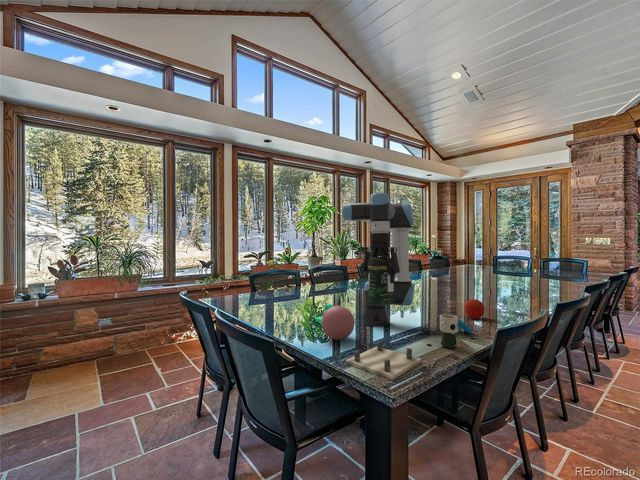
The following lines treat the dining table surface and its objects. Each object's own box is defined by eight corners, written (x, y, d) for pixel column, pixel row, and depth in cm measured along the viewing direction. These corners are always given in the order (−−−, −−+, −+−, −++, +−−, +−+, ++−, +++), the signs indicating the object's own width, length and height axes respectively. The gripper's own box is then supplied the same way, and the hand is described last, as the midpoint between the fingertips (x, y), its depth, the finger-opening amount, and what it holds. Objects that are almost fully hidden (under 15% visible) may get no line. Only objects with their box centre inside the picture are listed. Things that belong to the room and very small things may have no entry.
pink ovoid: (338, 329, 161) (338, 299, 160) (361, 341, 143) (360, 307, 143) (311, 334, 154) (311, 303, 153) (331, 347, 136) (331, 311, 136)
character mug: (449, 352, 127) (449, 320, 127) (434, 347, 133) (433, 316, 133) (463, 346, 134) (463, 315, 134) (448, 341, 140) (448, 312, 140)
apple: (488, 320, 173) (488, 299, 173) (469, 320, 173) (469, 300, 173) (479, 316, 183) (478, 296, 183) (461, 316, 183) (461, 296, 183)
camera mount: (314, 322, 176) (314, 304, 176) (325, 320, 181) (324, 302, 181) (327, 327, 167) (327, 307, 167) (338, 324, 171) (338, 305, 171)
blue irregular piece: (476, 332, 147) (461, 317, 148) (469, 342, 146) (453, 327, 147) (463, 329, 158) (449, 315, 158) (456, 338, 157) (442, 324, 157)
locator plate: (345, 363, 118) (345, 350, 118) (376, 349, 132) (376, 338, 132) (392, 379, 104) (392, 365, 104) (421, 362, 118) (420, 349, 118)
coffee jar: (376, 307, 118) (375, 257, 118) (365, 303, 125) (364, 256, 125) (397, 304, 122) (396, 256, 122) (385, 301, 129) (384, 256, 129)
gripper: (353, 233, 128) (353, 288, 128) (398, 231, 113) (399, 294, 113) (364, 233, 134) (364, 286, 134) (409, 232, 119) (410, 292, 119)
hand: (380, 290), depth 123 cm, fingers closed on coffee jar, 8 cm apart
